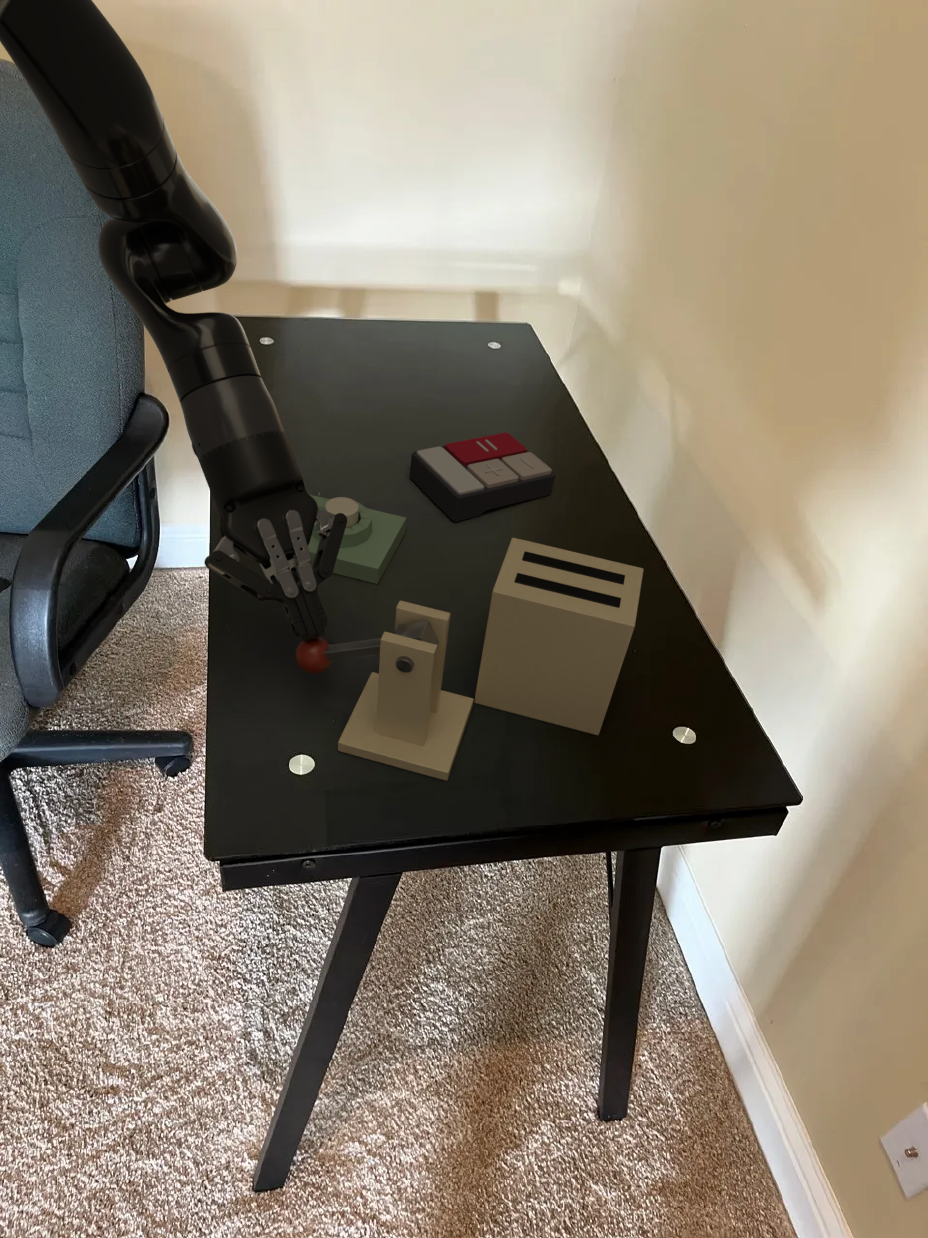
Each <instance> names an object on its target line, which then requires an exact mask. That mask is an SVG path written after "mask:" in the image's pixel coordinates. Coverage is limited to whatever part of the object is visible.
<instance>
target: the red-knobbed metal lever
mask: <svg viewBox="0 0 928 1238" xmlns="http://www.w3.org/2000/svg"><path fill="white" fill-rule="evenodd" d="M393 634H396V635H400V636H404V637H408V638H412V639H416V640H420V641H423V642H427V643H431V644H435V645H437V646H438V643H439V641H438V639H437V637H436V635H435V633H434V631H433V629H432V627H431V625H430V623H429V621H428V620H426V621H419V622H412V623H405V624H399V625H398V627H397V629H396V631H395V630H394V633H393ZM381 638H382V637H377V638H369V639H363V640H355V641H347V642H341V643H333V644H330V643H329V642H328V640H326V639H325V638H323V637H321V636H319V637H316V638H314V639H311V640H309V641H303V640H302V641H300V642H299V643H298V645H297V647H296V649H295V661H296V663H297V665H298V666H299V668H300V669H301V670H303V671H304V672H306V673H308V674H320V673H323V672H324V671H326V670H327V669H328V668H329V667H330V666H331V664H332V662H333V661H340V660H349V659H350V660H351V659H357V658H365V657H366V658H367V657H372V656H380V641H381Z"/></svg>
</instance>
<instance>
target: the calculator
mask: <svg viewBox="0 0 928 1238" xmlns="http://www.w3.org/2000/svg"><path fill="white" fill-rule="evenodd" d="M409 466H410V467H409V473H408V476H409V477H408V478H410V480H412V482H413V483H414V484H415V485H416V486H418V487H419V489H420V490H421V491H422V492H423V493H424V494H425V495H426V496H427V497H428V498H429V499H430V500H431V501H432V502H433V503H434V504H435V505H436V506H437V507H438V508H439V509H440V510H441V511H442V512H443V513H444V514H445V515H446V516H447V518H449V519H450V520H451V521H452V522H455V523H456V522H462V521H465V520H469V519H474V518H477V517H480V516H481V515H483V514H484V513H485V512H486V511H489V510H490V511H491V510H494V509H498V508H502V507H506V506H510V505H513V504H518V503H522V502H526V501H530V500H535V499H538V498H542V497H547V496H550V495H551V494H552V491H553V487H554V483H555V479H556V473H555V472H553V471H552V468H551V467H550V466H549V465H547V464H546V463H545V462H544V461H542V459H540V458H539V457H538V456H537V455H535V453H533V452H531V451H529V450H528V448H527V447H526V446H525V445H524V444H522V443H521V442H520V441H518V440H517V439H516V438H515V437H514V436H512V435H511V434H510V433H509V432H501V433H496V434H491V435H485V436H480V437H474V438H468V439H464V440H459V441H454V442H453V441H452V442H447V443H445V444H444V445H442V446H435V447H429V448H423V449H419V450H416V451H413V452H412V453H411V457H410V465H409Z"/></svg>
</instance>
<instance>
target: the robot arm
mask: <svg viewBox="0 0 928 1238" xmlns="http://www.w3.org/2000/svg"><path fill="white" fill-rule="evenodd" d="M0 43H1V45H2V46H3V48H4V50H5V51H6V53H7V54H8V56H9V57H10V59H11V60H12V62H13V64H14V65H15V67H17V70H18V71H19V73H20V74H21V76H22V77H23V79H24V80H25V82H26V84H27V85H28V87H29V89H30V90H31V92H32V93H33V95H34V97H35V99H36V100H37V102H38V103H39V105H40V107H41V109H42V111H43V112H44V115H46V117H47V119H48V121H49V123H50V124H51V126H52V128H53V131H54V133H55V134H56V136H57V138H58V140H59V143H60V144H61V145H62V147H63V149H64V151H65V152H66V154H67V156H68V158H69V160H70V162H71V164H72V166H73V167H74V169H75V171H76V173H77V175H78V177H79V178H80V180H81V182H82V184H83V186H84V187H85V189H86V191H87V193H88V195H89V197H90V198H91V200H92V202H94V204H95V205H96V206H97V207H98V208H99V209H100V210H101V211H102V212H103V213H104V214H106V215H107V216H108V217H111V218H110V219H108V220H107V221H106V222H105V223H104V224H103V225H102V227H101V229H100V232H99V235H98V241H97V249H98V255H99V259H100V262H101V265H102V267H103V269H104V271H105V273H106V275H107V276H108V278H109V279H110V281H111V283H112V284H113V285H114V287H115V288H116V289H117V291H118V292H119V294H120V295H121V296H122V297H123V299H124V300H125V301H126V303H127V304H128V305H129V307H130V308H131V310H132V311H133V312H134V314H135V315H136V316H137V317H138V319H139V320H140V322H141V323H142V325H143V326H144V328H145V329H146V331H147V333H148V334H149V336H150V337H151V339H152V340H153V342H154V344H155V346H156V348H157V350H158V352H159V355H160V356H161V358H162V360H163V361H162V362H164V365H165V369H166V370H167V372H168V375H169V377H170V380H171V383H172V385H173V388H174V390H175V393H176V396H177V398H178V401H179V404H180V407H181V410H182V414H183V418H184V423H185V427H186V431H187V434H188V437H189V440H190V442H191V449H192V451H193V454H194V456H195V457H196V458H197V460H198V463H199V466H200V468H201V471H202V473H203V476H204V478H205V481H206V483H207V486H208V489H209V491H210V494H211V497H212V499H213V502H214V505H215V507H216V510H217V512H218V515H219V534H220V537H221V539H220V541H219V542H218V543H217V545H216V547H214V549H213V551H212V552H211V553H210V554H208V555H207V556H206V557H205V559H204V567H206V568H207V569H208V570H209V571H211V572H213V573H215V574H216V575H217V576H219V577H221V578H222V579H224V580H226V581H227V582H229V583H230V584H232V585H233V586H234V587H237V588H238V589H240V590H241V591H242V592H244V593H246V594H247V595H249V596H251V597H252V598H254V599H256V600H257V601H260V602H264V601H275V602H278V603H279V604H280V605H281V607H282V609H283V611H284V614H285V617H286V620H287V621H288V624H289V627H290V629H291V632H292V634H293V635H294V636H295V637H296V638H298V637H300V638H301V640H302V641H309V640H311V639H314V638H316V637H322V636H324V635H326V631H325V627H328V618H327V615H326V611H325V610H324V607H323V603H322V602H321V598H320V596H319V594H318V588H319V586H320V585H321V584H322V583H323V582H324V581H325V580H327V579H329V578H330V577H332V575H333V574H334V573H333V569H334V566H335V563H336V559H337V556H338V552H339V549H340V545H341V542H342V538H343V535H344V531H345V528H346V525H347V517H346V516H345V515H344V514H343V513H338V514H336V515H335V514H332V513H330V512H327V511H325V510H322V509H320V508H318V505H317V502H316V501H315V499H314V498H313V497H312V496H311V495H312V494H310V493H309V491H308V490H307V488H306V486H305V483H304V479H303V475H302V473H301V470H300V467H299V464H298V462H297V460H296V457H295V454H294V452H293V449H292V446H291V444H290V441H289V439H288V438H289V437H288V436H287V432H286V430H285V427H284V425H283V422H282V419H281V416H280V414H279V412H278V409H277V406H276V404H275V402H274V399H273V398H272V396H271V394H270V392H269V391H268V388H267V386H266V385H265V381H264V380H263V378H262V374H261V371H260V369H259V366H258V364H257V361H256V358H255V356H254V353H253V350H252V347H251V345H250V342H249V339H248V337H247V334H246V332H245V330H244V329H245V328H244V327H243V326H242V323H241V322H240V321H239V319H238V318H237V317H235V316H234V315H232V314H230V313H228V312H222V311H221V312H220V311H205V312H181V311H177V310H175V309H173V308H171V307H170V306H168V305H167V304H168V303H170V302H171V301H176V300H180V299H183V298H186V297H190V296H193V295H196V294H199V293H202V292H205V291H206V292H207V291H209V290H213V289H216V288H218V287H220V286H222V285H224V284H226V283H228V281H230V279H231V278H232V276H233V275H234V273H235V270H236V269H237V268H236V267H237V264H238V248H237V244H236V241H235V237H234V235H233V233H232V230H231V227H229V225H228V223H227V221H226V219H225V218H224V217H223V215H222V213H221V212H220V211H219V210H218V208H217V207H216V205H215V204H214V203H213V202H212V201H211V200H210V198H209V196H207V194H206V193H205V192H204V191H203V189H201V187H199V185H198V184H197V183H196V181H194V178H192V176H191V174H190V173H189V172H188V171H187V169H186V167H185V166H184V164H183V161H182V160H181V158H180V156H179V154H178V151H177V149H176V146H175V143H174V141H173V139H172V136H171V133H170V130H169V128H168V126H167V122H166V120H165V118H164V114H163V112H162V109H161V107H160V105H159V103H158V100H157V98H156V95H155V93H154V91H153V89H152V86H151V84H150V82H149V81H148V79H147V77H146V75H145V73H144V72H143V70H142V68H141V66H140V65H139V63H138V62H137V60H136V59H135V57H134V56H133V54H132V52H131V51H130V50H129V48H128V46H127V45H126V44H125V42H124V41H123V39H122V38H121V37H120V35H119V33H118V32H117V31H116V29H115V28H114V27H113V26H112V25H111V23H110V22H109V20H108V19H107V18H106V17H105V16H104V14H103V13H102V11H101V10H100V9H99V7H98V6H97V5H96V4H95V2H94V1H93V0H0ZM315 523H316V525H317V529H316V531H317V534H318V535H319V536H321V539H320V542H319V545H318V549H317V552H316V556H315V559H314V562H313V566H311V556H310V552H309V549H308V545H309V543H310V539H311V536H312V532H313V528H314V524H315ZM235 549H236V550H237V551H239V552H240V553H242V554H243V555H245V556H246V557H247V558H249V559H250V560H251V561H253V562H254V563H257V564H259V566H260V568H261V571H262V572H263V574H264V576H265V578H264V577H263V576H261V575H259V574H258V573H256V572H254V571H253V570H252V569H250V568H248V567H247V566H245V565H243V564H242V563H241V562H240V558H241V557H240V554H239V553H238V552H237V551H236V550H235ZM267 579H268V580H267Z"/></svg>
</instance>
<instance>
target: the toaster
mask: <svg viewBox="0 0 928 1238" xmlns="http://www.w3.org/2000/svg"><path fill="white" fill-rule="evenodd" d="M643 575H644V567H643V568H642V567H639V566H635V565H630V564H626V563H621V562H619V561H613V560H608V559H605V558H600V557H597V556H593V555H589V554H584V553H580V552H575V551H571V550H567V549H564V548H560V547H559V548H558V547H554V546H550V545H546V544H542V543H538V542H534V541H530V540H526V539H521V538H517V537H511V540H510V542H509V545H508V548H507V551H506V553H505V556H504V559H503V562H502V564H501V567H500V570H499V573H498V575H497V578H496V581H495V582H494V583H495V584H494V586H493V588H492V592H491V598H490V604H489V611H488V616H487V622H486V628H485V633H484V640H483V646H482V652H481V657H480V664H479V670H478V677H477V682H476V688H475V694H474V700H473V704H476V705H477V704H478V705H480V706H485V707H489V708H492V709H496V710H499V711H504V712H508V713H512V714H515V715H520V716H522V717H526V718H530V719H534V720H538V721H542V722H546V723H550V724H554V725H557V726H561V727H565V728H569V729H571V730H576V731H579V732H584V733H587V734H591V735H595V736H599V735H600V733H601V730H602V727H603V723H604V720H605V718H606V715H607V712H608V708H609V706H610V703H611V700H612V697H613V694H614V690H615V687H616V686H617V685H616V684H617V681H618V679H619V675H620V672H621V669H622V666H623V663H624V660H625V658H626V654H627V651H628V649H629V645H630V642H631V639H632V636H633V633H634V631H635V628H636V621H637V615H638V609H639V602H640V596H641V589H642V583H643V582H642V581H643Z"/></svg>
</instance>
